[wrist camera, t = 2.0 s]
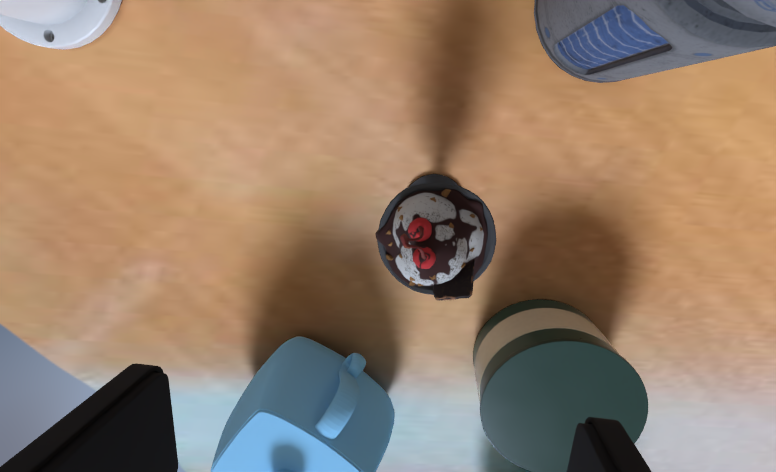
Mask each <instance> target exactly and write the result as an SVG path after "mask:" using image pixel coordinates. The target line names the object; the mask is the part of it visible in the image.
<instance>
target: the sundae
mask: <svg viewBox="0 0 776 472" xmlns="http://www.w3.org/2000/svg"><path fill="white" fill-rule="evenodd" d="M376 238H377V242H378V248H379V252H380V255H381V259H382V261H383V262H384V264H385V266H386V267H387V269H388V270H389V271H390V273H391V274H392V275H393V276H394V277H395V278H396V279H397V280H398V281H399V282H401V283H402V284H403V285H405V286H407V287H408V288H410V289H412V290H414V291H417V292H420V293H424V294H431V295H434V297H435V299H436V300H454V299H459V298H469V297H470V296H471V295H472V291H473V281H474V280H476V279H477V278H479V277H480V275H481V274H482V273H483V272H484V271H485V270H486V268H487V267H488V265H489V264H490V262H491V260H492V257H493V254H494V250H495V245H496V232H495V225H494V220H493V218H492V215H491V213H490V211H489V209H488V208H487V206H486V205H485V203H484V202H483V201H482V200H481V199H480V198H479V197H478V196H477V195H475V194H474V193H472V192H471V191H469V190H467V189H465V188H463V187H461V186H458V185H457V183H456V182H454V181H453V180H452V179H450V178H448V177H446V176H443V175H438V174H431V175H426V176H422V177H420V178H419V179H417V180H416V181H414V182H413V183H412V184H411V185H410V187H408V188H406V189H405V190H403V191H402V192H400V193H399V194H398V195H397V196H396V197H395V198H394V199H393V200H392V201H391V202H390V204H389V205H388V207H387V208H386V210H385V212H384V214H383V216H382V218H381V221H380V225H379V230H378V231H377V232H376Z"/></svg>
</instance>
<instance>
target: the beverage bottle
mask: <svg viewBox="0 0 776 472" xmlns="http://www.w3.org/2000/svg"><path fill="white" fill-rule="evenodd" d="M534 16H535V23H536V30H537V33H538V36H539V39H540V41H541V44H542V46H543V48H544V49H545V51H546V53H547V54H548V56H549V57H550V58H551V59H552V60H553V62H554V63H555V64H556V65H557V66H558V67H559V68H561V69H562V70H564V71H565V72H567V73H568V74H570V75H571V76H574V77H577V78H579V79H582V80H585V81H591V82H598V83H603V82H616V81H621V80H625V79H630V78H634V77H639V76H643V75H648V74H652V73H657V72H661V71H665V70H670V69H674V68H679V67H683V66H688V65H692V64H697V63H701V62H706V61H710V60H715V59H719V58H724V57H728V56H733V55H737V54H742V53H746V52H751V51H755V50H760V49H764V48H769V47H773V46H776V0H535V8H534Z"/></svg>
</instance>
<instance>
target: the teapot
mask: <svg viewBox="0 0 776 472" xmlns="http://www.w3.org/2000/svg"><path fill="white" fill-rule="evenodd" d="M365 365H366V360H365V359H364V357H363V356H362V355H361V354H358V353H352V354H350V355H349V356H348V357H347V358H345V357H343V356H341V355H340V354H338V353H336V352H335V351H333V350H331V349H329V348H327V347H325V346H323V345H322V344H320V343H318V342H315V341H313V340H311V339H309V338H305V337H300V336H298V337H294V338H291V339H289V340H288V341H286V342H285V343H283V344H282V345H281V346H280V347H279V348H278V349H277V350H276V351H275V352H274V353H273V354H272V355H271V356H270V358H269V359H268V360H267V361H266V362H265V363H264V365H263V366H262V367H261V368H260V369H259V371H258V372H257V373H256V375H255V376H254V378H253V379H252V380H251V382H250V383H249V385H248V386H247V388H246V390H245V391H244V393H243V394H242V396H241V398H240V399H239V401H238V403H237V404H236V406H235V408H234V410H233V411H232V413H231V415H230V417H229V419H228V421H227V423H226V425H225V428H224V430H223V433H222V435H221V438H220V441H219V444H218V447H217V450H216V454H215V457H214V460H213V464H212V468H211V472H376V470H377V468H378V466H379V464H380V462H381V460H382V458H383V455H384V453H385V451H386V448H387V446H388V443H389V440H390V436H391V433H392V429H393V424H394V408H393V405H392V402H391V399H390V398H389V396H388V395H387V393H386V392H385V391H384V390H383V389H382V388H381V386H380V385H379V384H377V383H376V382H375V381H374V380H373V379H372V378H371V377H370V376H368V375H367V374H366V373H365V372H364V371H363V369H364V367H365Z"/></svg>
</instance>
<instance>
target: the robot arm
mask: <svg viewBox="0 0 776 472" xmlns="http://www.w3.org/2000/svg"><path fill="white" fill-rule="evenodd" d="M121 1H122V0H0V26H1V27H3V28H4V29H5V30H6V31H8V32H9V33H11V34H13V35H14V36H16V37H17V38H19V39H21V40H24V41H26V42H29V43H31V44H33V45H38V46H42V47H47V48H53V49H72V48H79V47H81V46H83V45H86V44H88V43H91V42H92V41H94V40H95V39H96V38H98V37H99V36H101V35H102V34H103V33H104V32H105V30H106V29H107V28H108V27H109V26H110V25H111V23H112V22H113V20H114V18H115V16H116V14H117V12H118V10H119V7H120V4H121ZM177 469H178V458H177V449H176V441H175V432H174V423H173V415H172V406H171V397H170V389H169V380H168V376H167V375H166V374H164V373H163V370H162V369H161V367H159V366H153V365H144V364H132V365H130V366H129V367H127V368H126V369H125V370H123V371H122V372H121V373H120V374H118V375H117V376H116V377H115V378H113V379H112V380H111V381H109V382H108V383H107V384H106V385H104V386H103V387H102V388H100V389H99V390H98V391H97V392H95V393H94V394H93V395H92V396H90V397H89V398H88V399H87V400H85V401H84V402H83V403H81V404H80V405H79V406H78V407H76V408H75V409H74V410H72V411H71V412H70V413H69V414H67V415H66V416H65V417H63V418H62V419H61V420H60V421H58V422H57V423H56V424H55V425H53V426H52V427H51V428H50V429H48V430H47V431H46V432H45V433H43V434H42V435H41V436H39V437H38V438H37V439H35V440H34V441H33V442H32V443H30V444H29V445H28V446H27V447H25V448H24V449H23V450H21V451H20V452H19V453H18V454H16V455H15V456H14V457H12V458H11V459H10V460H9V461H7V462H6V463H5V464H4V465H2V466H1V467H0V472H177ZM567 472H651V470H650V469H649V467H648V465H647V464H646V462H645V461H644V459H643V458H642V456H641V454H640V453H639V451H638V450H637V448H636V446H635V445H634V443H633V442H632V440H631V438H630V437H629V435H628V434H627V432H626V430H625V429H624V427H623V426H622V424H621V423H620V422H619V421H617V420H613V419H604V418H596V417H588V418H587V419H586V420H585V423H578V425H577V427H576V431H575V435H574V440H573V445H572V449H571V454H570V458H569V463H568V468H567Z"/></svg>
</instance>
